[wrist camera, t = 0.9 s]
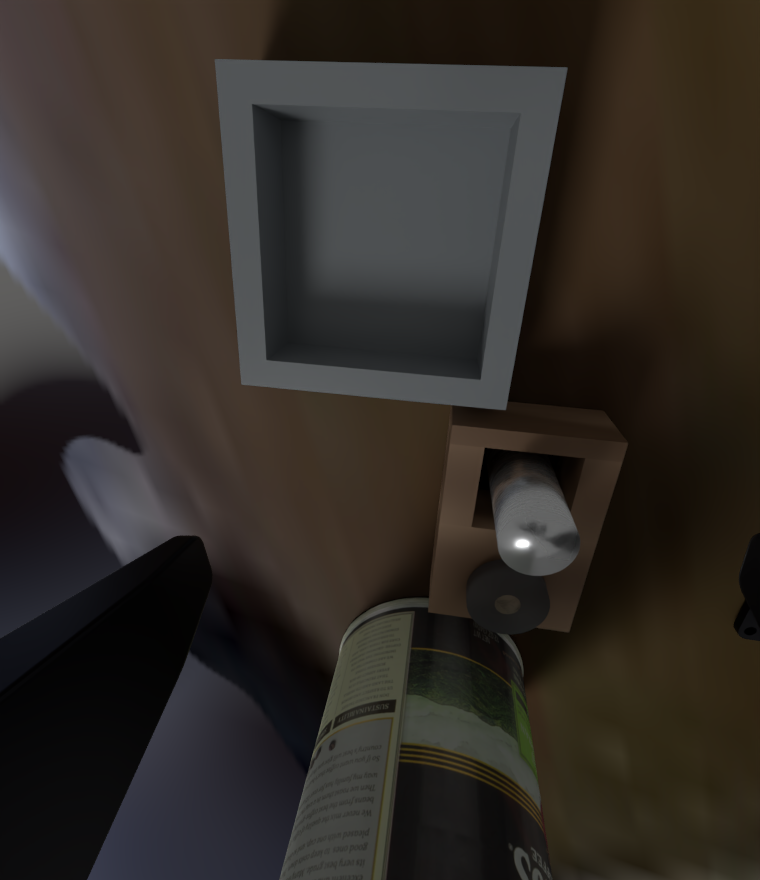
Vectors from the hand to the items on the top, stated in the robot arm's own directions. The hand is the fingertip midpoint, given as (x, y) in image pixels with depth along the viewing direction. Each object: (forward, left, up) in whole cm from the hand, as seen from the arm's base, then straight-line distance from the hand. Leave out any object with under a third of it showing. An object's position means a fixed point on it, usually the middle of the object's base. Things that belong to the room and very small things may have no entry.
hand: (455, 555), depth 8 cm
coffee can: (-18, -1, -12) cm, 22 cm away
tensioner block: (-6, -3, -12) cm, 14 cm away
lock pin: (-4, -3, -12) cm, 13 cm away
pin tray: (+4, +3, -12) cm, 13 cm away
